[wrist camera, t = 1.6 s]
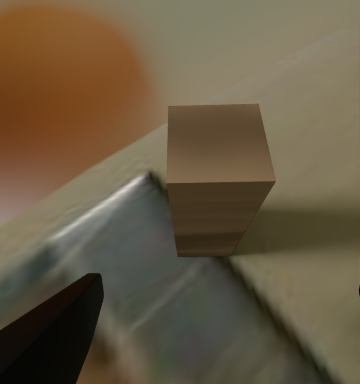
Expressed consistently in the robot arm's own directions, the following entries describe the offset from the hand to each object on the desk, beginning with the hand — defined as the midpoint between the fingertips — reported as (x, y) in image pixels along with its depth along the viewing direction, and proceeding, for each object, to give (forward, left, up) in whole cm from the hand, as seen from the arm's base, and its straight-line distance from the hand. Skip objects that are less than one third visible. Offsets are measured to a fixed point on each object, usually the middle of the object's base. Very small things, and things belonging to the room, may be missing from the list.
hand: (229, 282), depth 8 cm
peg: (+5, +3, -12) cm, 14 cm away
